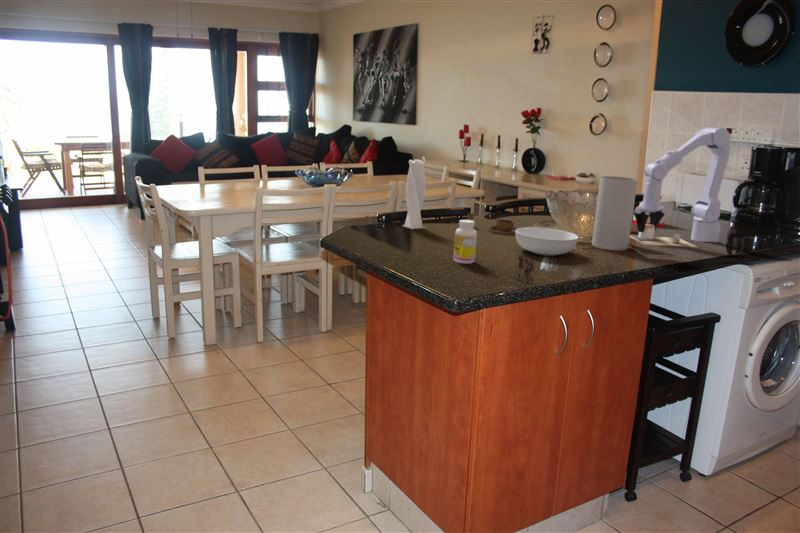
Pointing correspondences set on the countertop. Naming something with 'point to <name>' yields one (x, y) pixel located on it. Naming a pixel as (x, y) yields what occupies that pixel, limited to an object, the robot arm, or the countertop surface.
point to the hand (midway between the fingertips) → (646, 231)
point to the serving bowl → (546, 240)
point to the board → (665, 242)
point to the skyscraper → (415, 194)
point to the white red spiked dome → (661, 223)
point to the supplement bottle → (465, 242)
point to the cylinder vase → (614, 213)
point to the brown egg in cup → (647, 232)
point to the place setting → (499, 226)
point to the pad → (645, 239)
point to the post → (676, 238)
